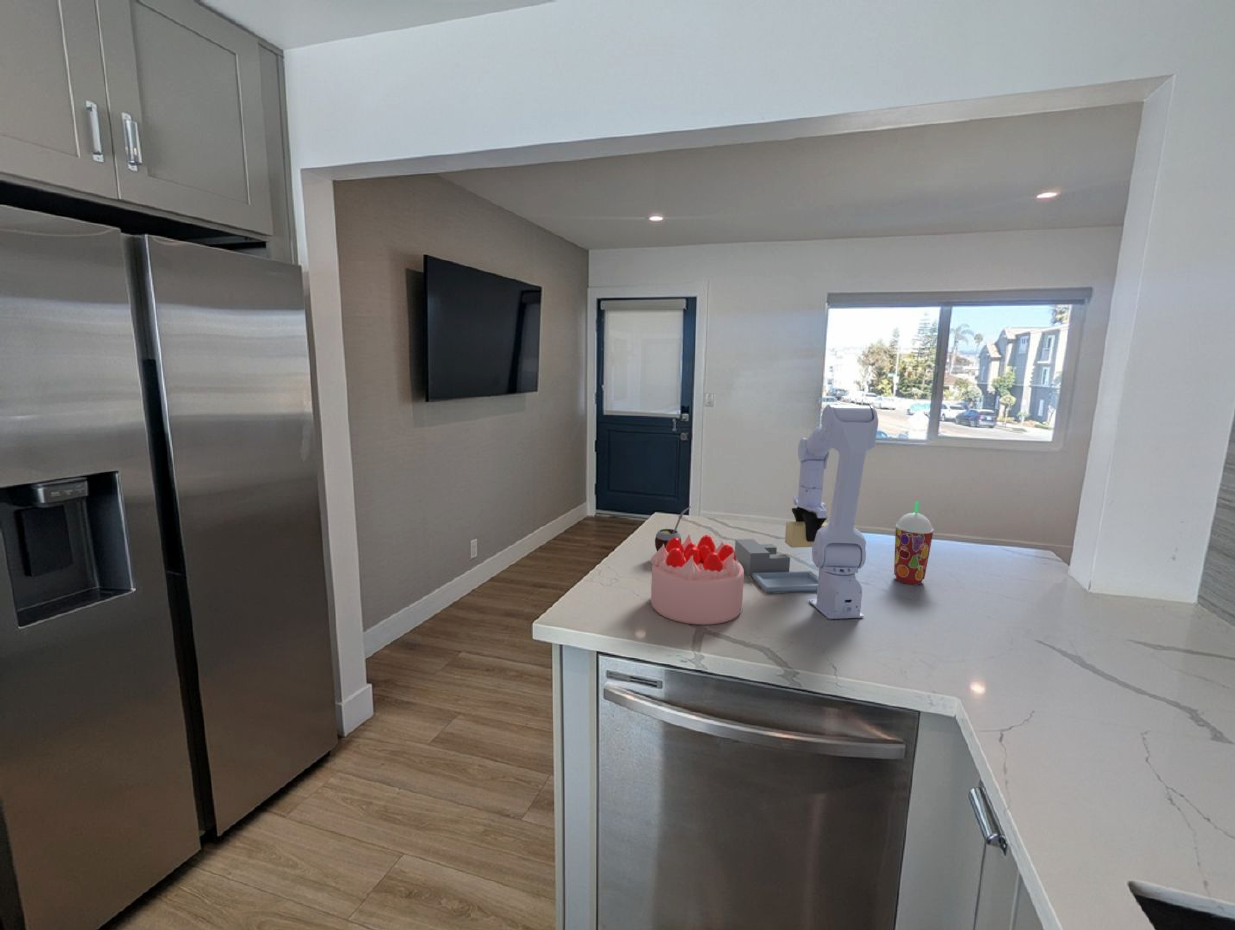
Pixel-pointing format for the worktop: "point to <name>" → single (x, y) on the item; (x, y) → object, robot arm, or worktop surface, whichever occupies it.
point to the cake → (697, 582)
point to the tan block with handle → (797, 534)
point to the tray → (787, 581)
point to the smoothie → (912, 547)
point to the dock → (760, 557)
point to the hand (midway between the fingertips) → (806, 538)
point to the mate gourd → (668, 534)
